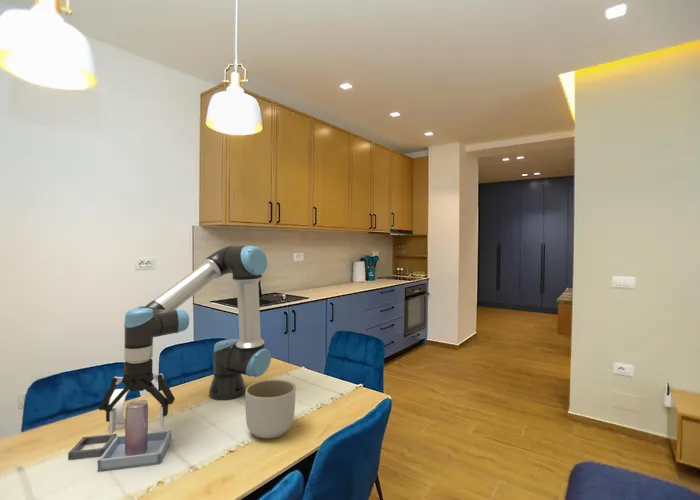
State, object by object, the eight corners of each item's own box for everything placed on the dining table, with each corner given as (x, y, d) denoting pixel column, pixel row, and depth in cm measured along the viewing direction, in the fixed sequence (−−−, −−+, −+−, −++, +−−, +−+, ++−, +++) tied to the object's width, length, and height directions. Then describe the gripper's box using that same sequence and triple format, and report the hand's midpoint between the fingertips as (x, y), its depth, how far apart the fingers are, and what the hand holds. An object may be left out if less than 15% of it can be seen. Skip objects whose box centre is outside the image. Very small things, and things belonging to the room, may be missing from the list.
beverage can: (131, 447, 113) (131, 399, 113) (151, 446, 113) (151, 399, 113) (120, 458, 107) (121, 407, 107) (141, 457, 107) (142, 407, 107)
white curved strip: (129, 421, 131) (129, 388, 131) (122, 429, 125) (122, 395, 125) (115, 422, 130) (115, 389, 130) (107, 430, 124) (107, 395, 124)
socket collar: (116, 439, 118) (116, 433, 118) (104, 455, 109) (104, 449, 109) (83, 443, 116) (83, 437, 116) (68, 460, 107) (68, 453, 107)
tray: (171, 439, 119) (171, 430, 119) (160, 463, 105) (160, 453, 105) (116, 445, 115) (116, 435, 115) (97, 471, 101) (97, 461, 101)
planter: (250, 449, 113) (251, 401, 113) (240, 425, 129) (241, 383, 129) (301, 437, 121) (302, 392, 121) (286, 416, 136) (287, 376, 136)
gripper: (185, 353, 117) (184, 419, 117) (97, 358, 111) (96, 427, 111) (180, 360, 110) (179, 430, 110) (86, 366, 103) (85, 440, 103)
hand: (137, 429), depth 110 cm, fingers open, 13 cm apart
